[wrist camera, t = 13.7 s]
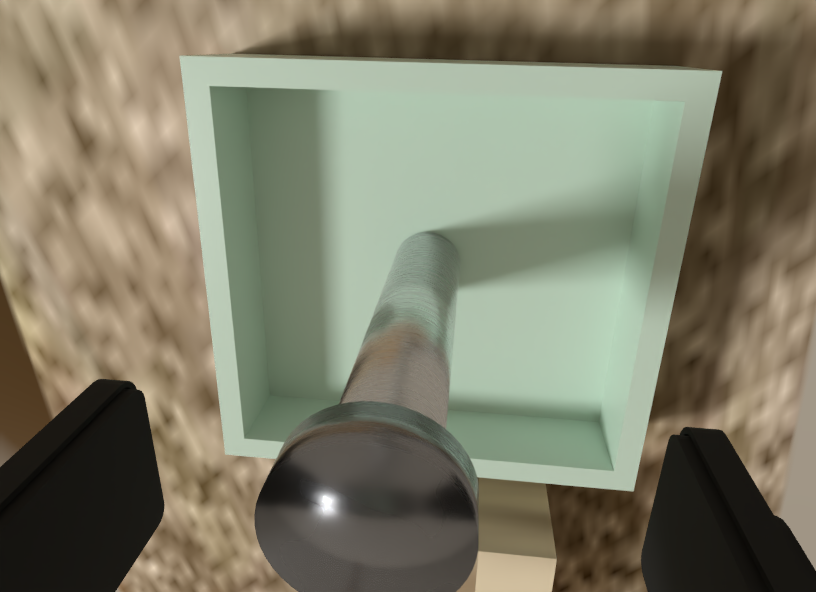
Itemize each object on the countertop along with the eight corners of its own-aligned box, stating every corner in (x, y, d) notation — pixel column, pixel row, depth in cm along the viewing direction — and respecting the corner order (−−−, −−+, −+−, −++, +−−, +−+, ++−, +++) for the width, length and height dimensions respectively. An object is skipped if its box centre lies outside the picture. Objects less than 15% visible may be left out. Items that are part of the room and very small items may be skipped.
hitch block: (340, 451, 27) (312, 534, 23) (543, 469, 26) (557, 559, 22) (343, 597, 31) (319, 694, 26) (523, 617, 30) (531, 721, 25)
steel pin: (376, 210, 22) (245, 433, 10) (483, 215, 21) (486, 454, 9) (376, 306, 23) (262, 605, 11) (476, 313, 23) (471, 628, 11)
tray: (232, 53, 21) (179, 55, 17) (677, 65, 20) (722, 71, 16) (260, 397, 26) (225, 454, 23) (611, 426, 25) (633, 491, 21)
